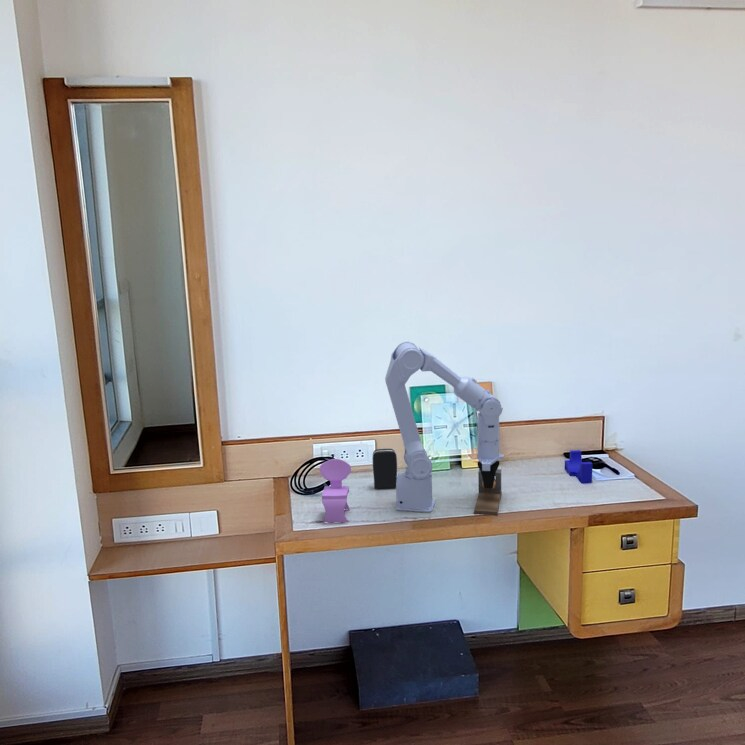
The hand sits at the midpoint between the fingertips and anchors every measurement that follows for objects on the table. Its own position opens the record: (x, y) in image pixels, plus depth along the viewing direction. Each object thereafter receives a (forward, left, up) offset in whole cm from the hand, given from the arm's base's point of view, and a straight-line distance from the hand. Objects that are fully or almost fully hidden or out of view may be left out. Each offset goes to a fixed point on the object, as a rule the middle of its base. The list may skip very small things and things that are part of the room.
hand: (488, 487), depth 189 cm
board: (0, -2, -4) cm, 4 cm away
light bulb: (0, +5, -1) cm, 5 cm away
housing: (0, +4, -3) cm, 5 cm away
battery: (-30, +6, -4) cm, 31 cm away
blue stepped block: (+24, +22, -4) cm, 33 cm away
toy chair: (-38, -16, -4) cm, 41 cm away
